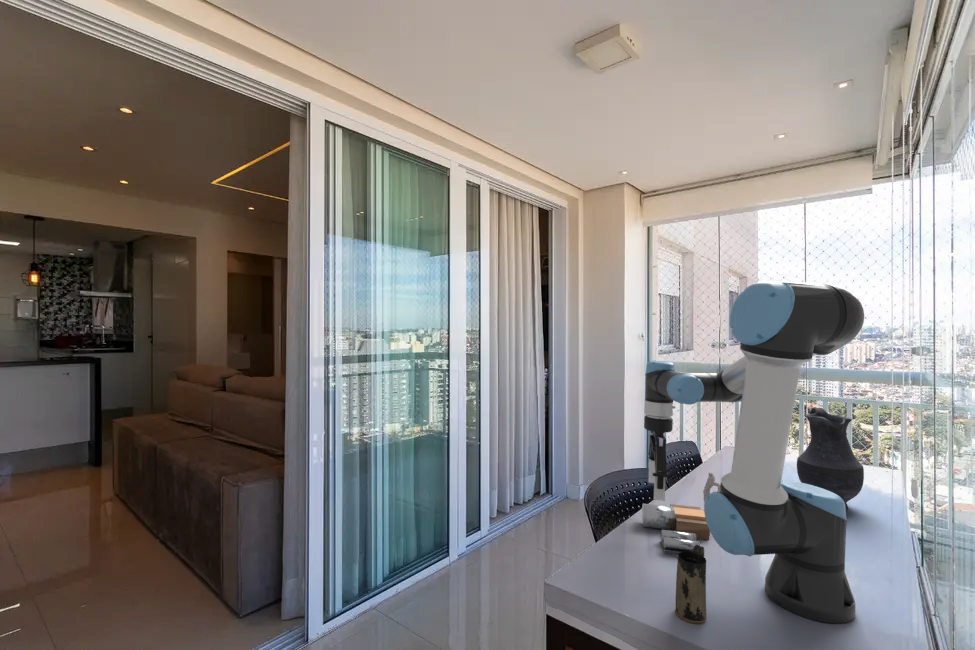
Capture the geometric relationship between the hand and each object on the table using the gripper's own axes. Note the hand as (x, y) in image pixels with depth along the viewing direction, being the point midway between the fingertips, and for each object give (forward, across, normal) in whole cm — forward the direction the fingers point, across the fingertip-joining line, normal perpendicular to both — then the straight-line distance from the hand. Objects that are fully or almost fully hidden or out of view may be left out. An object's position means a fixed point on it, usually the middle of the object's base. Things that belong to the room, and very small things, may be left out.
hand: (656, 491), depth 130 cm
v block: (+9, -14, -4) cm, 18 cm away
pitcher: (+10, +33, -56) cm, 66 cm away
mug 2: (+9, -42, -2) cm, 43 cm away
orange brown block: (+9, -1, -9) cm, 13 cm away
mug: (+10, +11, -20) cm, 25 cm away
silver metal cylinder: (+9, -1, 0) cm, 9 cm away
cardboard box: (+9, -1, -9) cm, 13 cm away
